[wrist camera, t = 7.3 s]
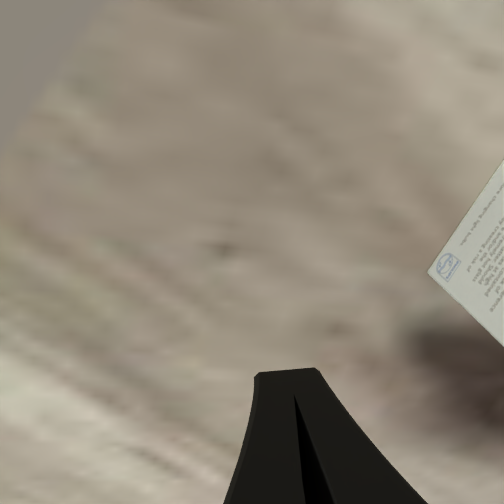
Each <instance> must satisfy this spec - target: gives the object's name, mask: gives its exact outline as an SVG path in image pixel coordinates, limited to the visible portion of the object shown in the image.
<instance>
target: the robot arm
mask: <svg viewBox="0 0 504 504" xmlns="http://www.w3.org/2000/svg"><path fill="white" fill-rule="evenodd" d="M223 504H428V503H427V502H426V501H425V500H424V499H423V498H422V497H421V496H420V495H419V494H418V493H417V492H416V491H415V490H414V489H413V488H412V487H411V486H410V484H409V483H408V482H407V481H406V480H405V479H404V478H403V477H402V476H401V475H400V474H399V472H398V471H397V470H396V469H395V468H394V467H393V466H392V465H391V464H390V463H389V461H388V460H387V459H386V458H385V457H384V456H383V454H382V453H381V452H380V451H379V450H378V449H377V447H376V446H375V445H374V444H373V443H372V441H371V440H370V439H369V438H368V437H367V435H366V434H365V433H364V432H363V431H362V429H361V428H360V427H359V426H358V424H357V423H356V422H355V421H354V419H353V418H352V417H351V415H350V414H349V413H348V412H347V410H346V409H345V408H344V406H343V405H342V404H341V402H340V401H339V399H338V398H337V397H336V395H335V394H334V392H333V391H332V390H331V388H330V387H329V385H328V384H327V382H326V381H325V379H324V378H323V376H322V375H321V373H320V371H318V370H317V369H316V368H303V369H292V370H280V371H269V372H259V373H258V374H257V375H256V376H255V377H254V394H253V401H252V407H251V412H250V417H249V422H248V426H247V430H246V433H245V437H244V441H243V445H242V448H241V452H240V456H239V459H238V462H237V465H236V468H235V471H234V474H233V477H232V480H231V483H230V486H229V489H228V492H227V495H226V497H225V500H224V503H223Z"/></svg>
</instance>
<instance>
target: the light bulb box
mask: <svg viewBox="0 0 504 504" xmlns="http://www.w3.org/2000/svg"><path fill="white" fill-rule="evenodd" d="M428 275H429V276H431V277H432V278H433V279H434V280H435V281H436V282H437V283H438V284H439V285H440V286H441V287H442V288H443V289H444V290H445V291H446V292H447V293H449V294H450V295H451V296H452V297H453V299H454V300H455V301H457V302H458V303H459V304H460V305H461V306H462V307H463V308H464V309H465V310H466V311H467V312H468V313H469V314H470V315H471V316H472V317H473V318H474V319H475V320H476V321H477V322H478V323H479V324H481V325H482V326H483V327H484V328H485V329H486V330H487V331H488V332H489V333H490V334H491V335H492V336H493V337H494V338H495V339H496V340H497V341H498V342H499V343H500V344H501V345H502V346H503V347H504V160H503V162H502V163H501V165H500V166H499V168H498V169H497V170H496V172H495V173H494V174H493V176H492V177H491V179H490V180H489V182H488V183H487V185H486V186H485V188H484V189H483V191H482V192H481V194H480V195H479V196H478V198H477V199H476V201H475V202H474V204H473V205H472V207H471V208H470V210H469V211H468V213H467V214H466V216H465V217H464V219H463V220H462V221H461V223H460V224H459V226H458V227H457V229H456V230H455V232H454V233H453V235H452V236H451V238H450V239H449V241H448V242H447V244H446V245H445V246H444V248H443V249H442V251H441V252H440V254H439V255H438V257H437V258H436V260H435V261H434V263H433V264H432V266H431V267H430V269H429V270H428Z"/></svg>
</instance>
